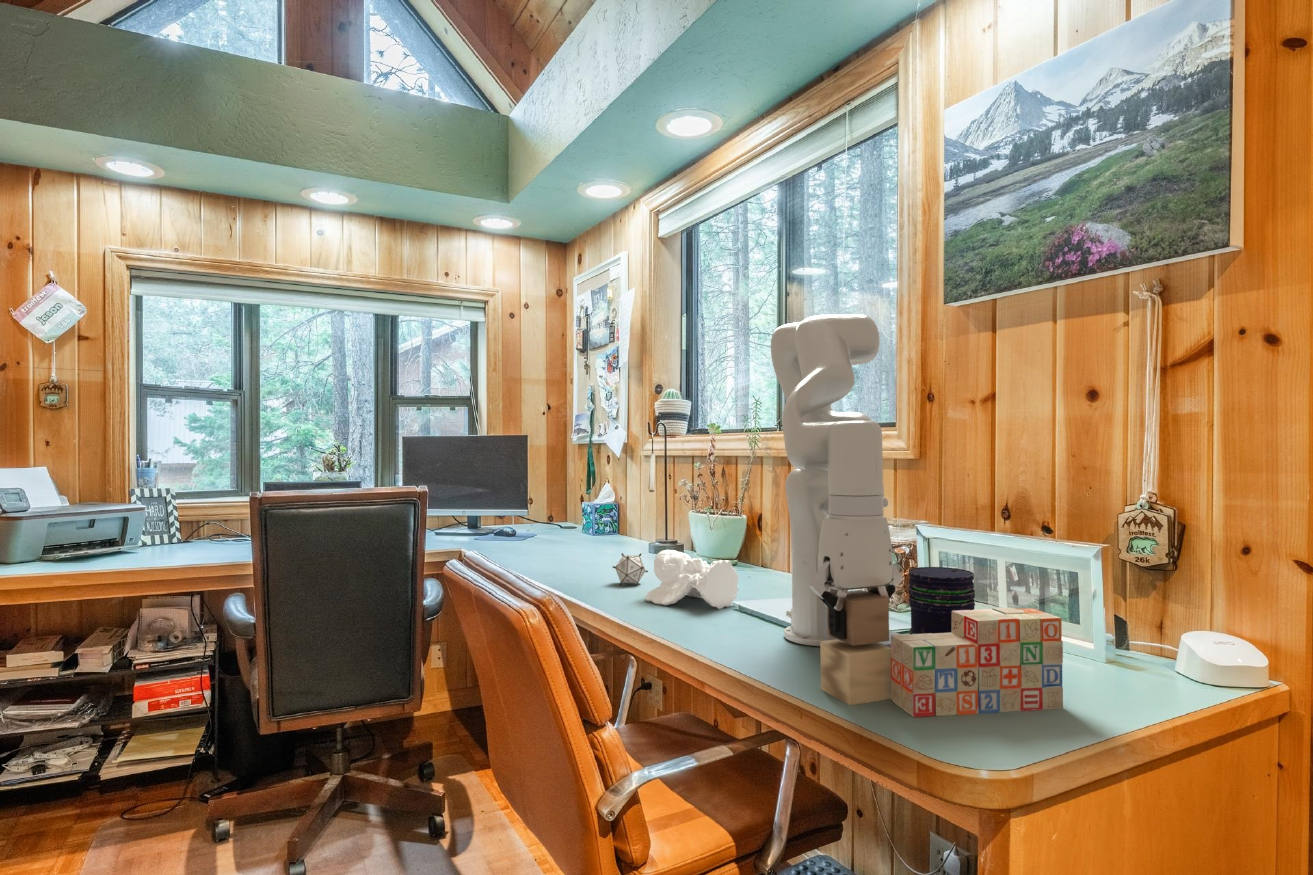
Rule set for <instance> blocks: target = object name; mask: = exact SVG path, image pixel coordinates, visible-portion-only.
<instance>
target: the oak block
mask: <svg viewBox="0 0 1313 875" xmlns="http://www.w3.org/2000/svg"><path fill="white" fill-rule="evenodd" d="M819 647H820V650H819V651H820V652H819V653H820V690H822V691H824V692H825V693H828V695H830V696H832V697H835V698H836V699H838V700H840V701H841V702H843V703H845V704H847V705H848V706H854V705H861V704H867V703H872V702H873V703H874V702H880V701H884V700H892V696H891V648H889V647H887V646H884V645H881V644H879V643H870V644H862V645H855V646H853V645H851V644H848V643H846V642H843V641H841V640H838V639H834V640H826V641H820V646H819Z"/></svg>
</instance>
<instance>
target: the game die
mask: <svg viewBox="0 0 1313 875" xmlns="http://www.w3.org/2000/svg"><path fill="white" fill-rule="evenodd" d="M620 555H621V558H620V560H619V561H618V562H617V564H616V565H612V569H615V570H616V574H617V576H618V579H619V581H620V582H619V586H622V584H637V586H639V587H640V580H641V579H642V577H643V576H644V574H645V573H649V571H648V570H647V569H646V568H645V566H644V563H643V561H642V559H641V556H642V553H639V554H638V555H625V554H624V553H623V552H622V553H621V554H620Z"/></svg>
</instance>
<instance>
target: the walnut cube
mask: <svg viewBox="0 0 1313 875" xmlns="http://www.w3.org/2000/svg"><path fill="white" fill-rule="evenodd" d="M837 593H838V592H837ZM836 596H837V594H836ZM835 598H836V597H835ZM889 604H890V603H889V598H888V597H884V596H881V595H877V594H874V593H870V592H868V590H867V591H866V590H864V589H863V590H862V589H854V590H848V592H847V596H846V599H845V602H844V606H843V609H842V610H845V611H846V630H847V637H846V639H843V640H842V639H839V638H837V637H834V636H832V635H830V630H829V614H828V607H827V626H828V635H829V636H831V637H834V638H836V639H838V640H841V641H843V642H846V643H848V644H851V645H853V646H855V645H862V644H870V643H877V642H884V641H889V631H890V610H889V609H890V608H889Z"/></svg>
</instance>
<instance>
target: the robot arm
mask: <svg viewBox="0 0 1313 875" xmlns="http://www.w3.org/2000/svg"><path fill="white" fill-rule="evenodd" d="M880 339H881V338H880V331H879V329H878V326H877V324H876V322H875V321H874V320H873V318H872V317H870V316H868V315H865V314H821V315H819V314H818V315H813V316H809V317H807V318H805V319H803V320H802V321H799V322H792V323H786V324H783V325H781V326H779V327H777V328H776V329H775V330H774V331H773V333H772V335H771V339H770V355H771V362H772V366H773V370H774V372H775V377H776V378H777V381H778V383H779V385H780V387H781V389H782V393H783V395H784V398H785V403H784V407H783V411H782V418H781V419H782V424H781V425H782V433H783V440H784V446H785V447H784V448H785V453H786V456H787V460H788V461H789V463H790V464H791V466H793V467H794V469H792V470H791V471H790V472H789V473H788V475H787V476H786V478H785V485H784V486H785V488H784V489H785V497H786V501H787V507H788V508H787V509H788V515H789V516H788V517H789V524H790V525H789V526H790V543H791V544H790V552H791V608H790V609H788V610H787V611H786V612H785V616H786V617H787V618H790V625H789V626H787V627H786V628H784V629H783V636H784V638H785V639H786V640H788V641H790V642H792V643H795V644H799V645H805V646H811V647H820V641H826V640H834V639H836V638H834V637H837V638H839V639H842V640H843V639H846V637H847V630H846V611H845V610H842V609H843V606H844V602H845V599H846V596H847V592H848V591H854V590H862V589H863V590H864V589H867V592H870V593H874V594H877V595H881V596H884V597H888V598H889V604H890V603H891V600H890V599H891V597H892V596H893V595H894V594H895V592H896V589H897V588H898V587H899V585H900V584H901V582H902V581H903V579H904V576H903V574H902V573H901V572H900V571H899V570H898V569H897V567H896V566H895V565H894V561H893V560H894V559H893V546H892V540H891V533H890V526H889V522H888V518H887V516H885V515H884V508H886V507H888V505H889V500H888V499H887V498H886V497H885V488H884V472H883V471H884V466H883V463H884V462H883V460H884V458H883V431H882V427H881V425H880V424H879V423H877V422H876V421H875V420H874V421H872V419H871V418H870V417H869V416H868V415H866V414H864V413H862V412H855V411H842V412H841V411H839V412H838V411H834V410H833V409H832V404H834V403H836V402H838V401H840V400H841V399H843V398H845V397H846V396H847V395H848V394H849V393H850V392H851V391H852V390H853V387H854V385H855V378H856V377H855V373H854V370H853V366H856V365H863V364H867V363H870V362H871V361H873V360H874V359H875V357H876V358H877V355H878V352H879V350H880V342H881V340H880ZM837 592H838V593H837ZM836 594H837V596H836ZM835 597H836V598H835ZM827 607H828V614H829V630H830V635H832V636H834V637H831V636H829V635H828V626H827Z"/></svg>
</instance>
